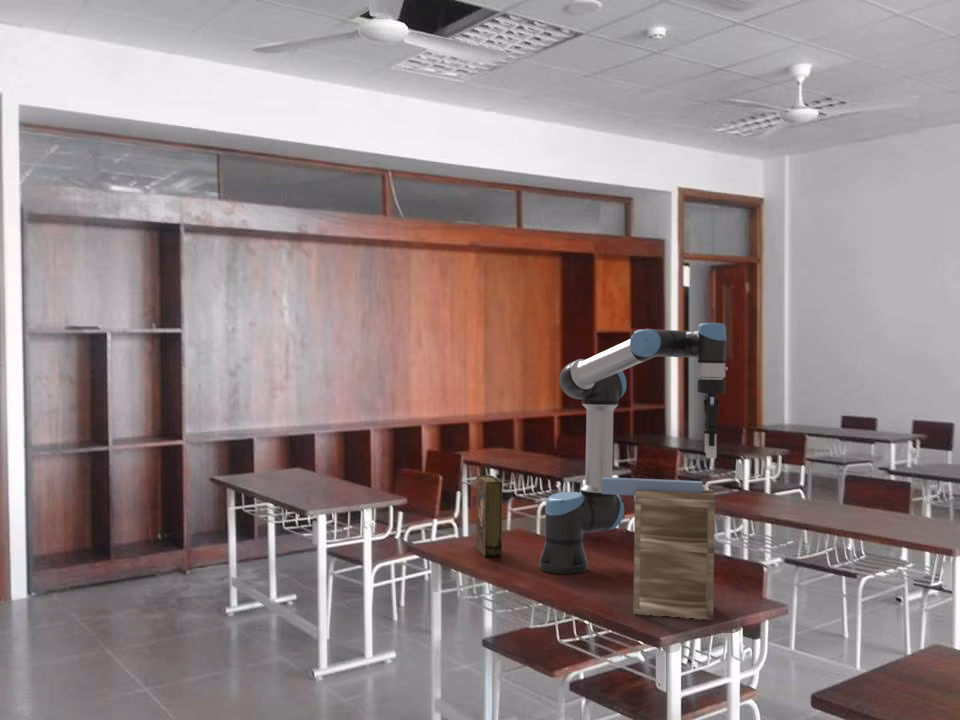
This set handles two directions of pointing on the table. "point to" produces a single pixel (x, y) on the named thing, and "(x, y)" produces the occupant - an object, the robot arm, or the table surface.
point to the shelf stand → (674, 554)
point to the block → (647, 485)
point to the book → (489, 515)
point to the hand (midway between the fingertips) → (710, 455)
